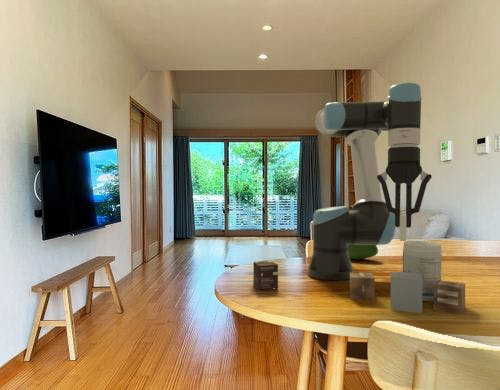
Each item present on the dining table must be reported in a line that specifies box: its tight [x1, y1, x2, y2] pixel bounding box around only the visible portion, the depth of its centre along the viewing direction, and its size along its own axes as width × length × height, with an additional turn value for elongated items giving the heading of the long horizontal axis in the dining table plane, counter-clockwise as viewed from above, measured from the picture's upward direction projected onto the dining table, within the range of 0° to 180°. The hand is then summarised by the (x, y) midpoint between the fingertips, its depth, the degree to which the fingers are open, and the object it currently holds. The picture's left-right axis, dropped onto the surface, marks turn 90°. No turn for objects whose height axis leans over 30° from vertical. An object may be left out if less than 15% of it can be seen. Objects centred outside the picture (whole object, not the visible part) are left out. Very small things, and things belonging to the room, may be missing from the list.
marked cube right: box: [433, 279, 466, 315], centre depth 90 cm, size 6×6×6 cm
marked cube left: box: [349, 271, 376, 302], centre depth 99 cm, size 6×8×6 cm
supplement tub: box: [402, 240, 443, 302], centre depth 100 cm, size 10×10×15 cm
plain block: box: [390, 270, 423, 314], centre depth 91 cm, size 7×7×8 cm
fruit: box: [348, 245, 379, 261], centre depth 153 cm, size 15×10×10 cm, turn 47°
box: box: [252, 260, 279, 291], centre depth 110 cm, size 6×6×7 cm
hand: (402, 240), depth 93 cm, fingers closed
